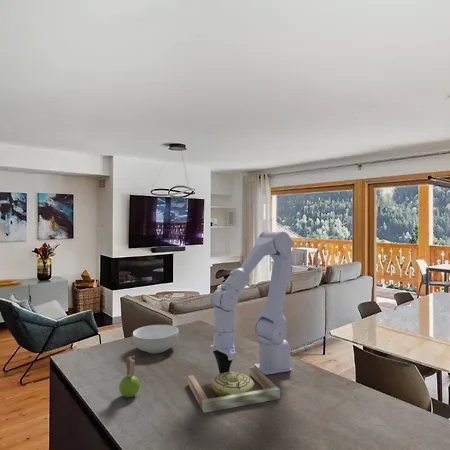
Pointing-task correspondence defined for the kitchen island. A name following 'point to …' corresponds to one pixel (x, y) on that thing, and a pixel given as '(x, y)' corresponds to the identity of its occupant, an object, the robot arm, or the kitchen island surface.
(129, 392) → the snail figurine
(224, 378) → the decorated donut
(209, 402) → the wooden bar frame
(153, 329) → the cereal bowl
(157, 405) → the kitchen island surface
